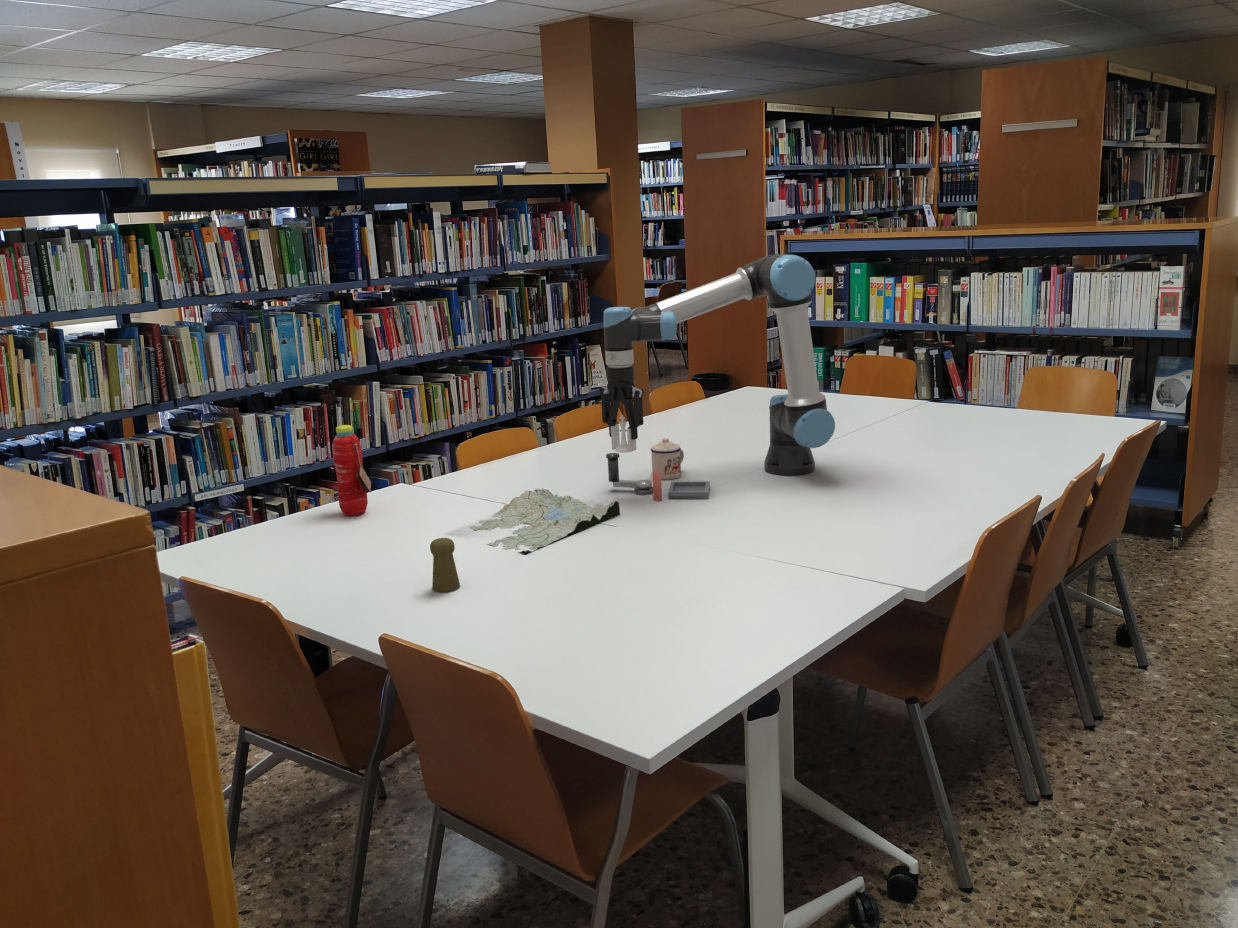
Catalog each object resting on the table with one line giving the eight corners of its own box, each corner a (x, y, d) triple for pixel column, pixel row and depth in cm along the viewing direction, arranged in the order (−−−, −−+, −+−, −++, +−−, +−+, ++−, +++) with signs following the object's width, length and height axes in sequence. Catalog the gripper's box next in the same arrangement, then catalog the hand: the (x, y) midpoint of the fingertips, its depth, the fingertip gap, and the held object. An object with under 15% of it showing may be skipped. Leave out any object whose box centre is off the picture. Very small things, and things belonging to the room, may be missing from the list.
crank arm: (653, 485, 267) (652, 453, 265) (649, 489, 263) (648, 457, 261) (610, 483, 271) (608, 452, 269) (605, 487, 267) (603, 456, 265)
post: (662, 498, 259) (661, 470, 257) (661, 500, 257) (660, 473, 255) (653, 498, 260) (652, 470, 258) (653, 501, 257) (651, 473, 255)
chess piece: (622, 447, 259) (620, 412, 257) (636, 449, 256) (634, 413, 254) (611, 451, 255) (609, 416, 253) (626, 453, 253) (624, 417, 250)
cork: (433, 583, 205) (428, 536, 202) (461, 581, 205) (456, 533, 202) (430, 593, 199) (425, 545, 196) (459, 591, 199) (454, 543, 197)
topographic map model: (526, 557, 220) (524, 537, 219) (443, 536, 238) (442, 517, 237) (620, 517, 247) (619, 499, 245) (540, 501, 265) (538, 484, 264)
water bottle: (383, 513, 258) (373, 425, 252) (359, 521, 252) (348, 431, 246) (356, 506, 265) (346, 421, 259) (333, 514, 259) (321, 426, 253)
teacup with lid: (667, 481, 276) (665, 443, 273) (645, 476, 282) (643, 439, 279) (694, 473, 283) (693, 436, 281) (672, 468, 290) (671, 432, 287)
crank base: (655, 488, 269) (655, 485, 268) (653, 494, 263) (653, 491, 263) (635, 489, 270) (635, 485, 269) (632, 495, 264) (632, 491, 264)
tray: (709, 487, 267) (709, 481, 267) (708, 499, 257) (708, 492, 256) (671, 488, 269) (671, 481, 268) (668, 499, 258) (668, 492, 258)
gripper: (585, 366, 252) (590, 449, 258) (638, 369, 242) (642, 456, 248) (602, 361, 258) (606, 443, 264) (655, 365, 247) (658, 450, 253)
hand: (624, 449), depth 256 cm, fingers closed on chess piece, 5 cm apart
